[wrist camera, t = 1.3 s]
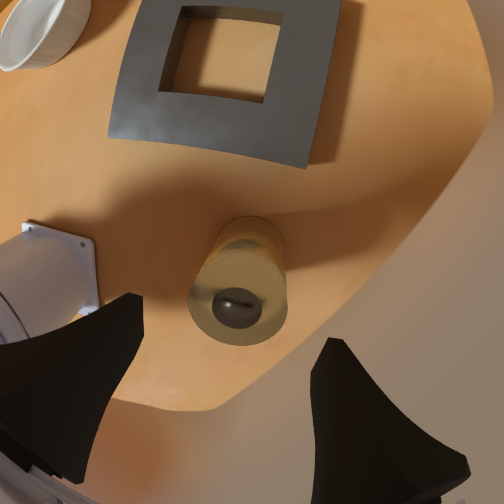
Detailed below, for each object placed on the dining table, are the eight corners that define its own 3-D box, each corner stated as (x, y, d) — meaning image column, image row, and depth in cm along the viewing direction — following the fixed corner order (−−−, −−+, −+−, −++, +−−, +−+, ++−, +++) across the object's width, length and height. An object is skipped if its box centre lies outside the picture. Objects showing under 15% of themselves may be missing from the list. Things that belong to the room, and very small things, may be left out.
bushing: (213, 270, 19) (184, 334, 13) (223, 209, 17) (192, 253, 11) (274, 283, 19) (273, 353, 13) (290, 224, 17) (300, 276, 11)
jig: (123, 136, 16) (107, 137, 14) (162, -12, 11) (152, -24, 9) (302, 166, 16) (305, 169, 14) (336, 4, 11) (342, -9, 9)
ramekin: (117, 0, 11) (87, -20, 7) (52, 89, 14) (16, 87, 10) (69, -18, 9) (42, -31, 5) (17, 57, 12) (-13, 54, 8)
